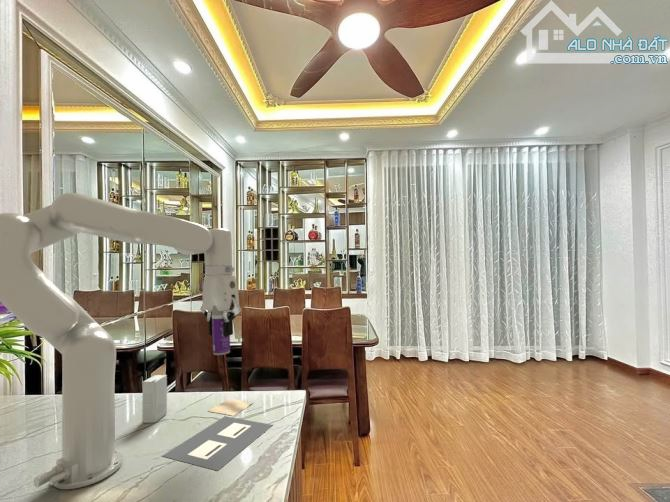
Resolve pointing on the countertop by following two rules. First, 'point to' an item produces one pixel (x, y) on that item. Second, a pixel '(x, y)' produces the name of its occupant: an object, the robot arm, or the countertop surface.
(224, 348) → the container
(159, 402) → the skincare box
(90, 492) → the countertop surface
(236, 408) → the oak pad
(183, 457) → the label mat
